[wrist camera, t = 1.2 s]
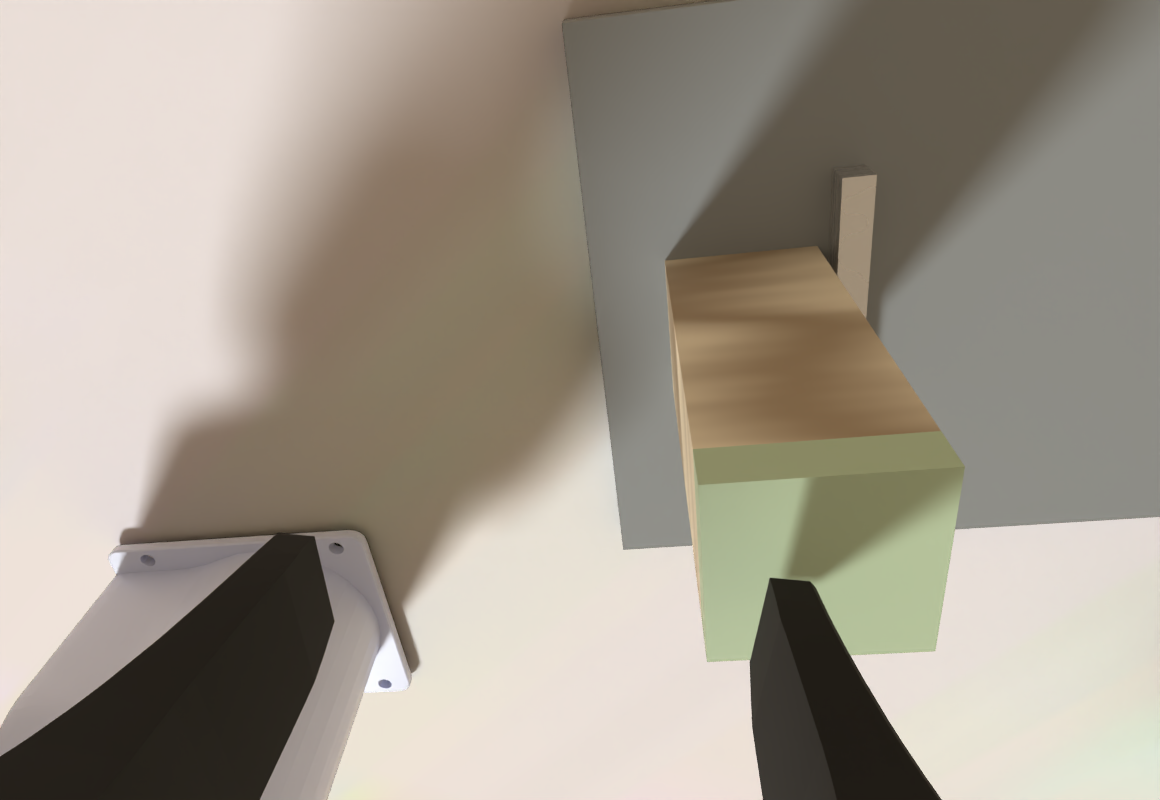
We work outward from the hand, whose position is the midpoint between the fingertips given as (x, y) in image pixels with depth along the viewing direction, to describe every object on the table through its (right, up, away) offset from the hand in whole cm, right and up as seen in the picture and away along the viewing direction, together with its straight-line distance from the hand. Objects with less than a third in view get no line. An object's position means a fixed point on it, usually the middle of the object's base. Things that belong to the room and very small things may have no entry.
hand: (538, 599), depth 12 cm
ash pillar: (+5, +5, +9) cm, 12 cm away
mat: (+10, +6, +9) cm, 15 cm away
